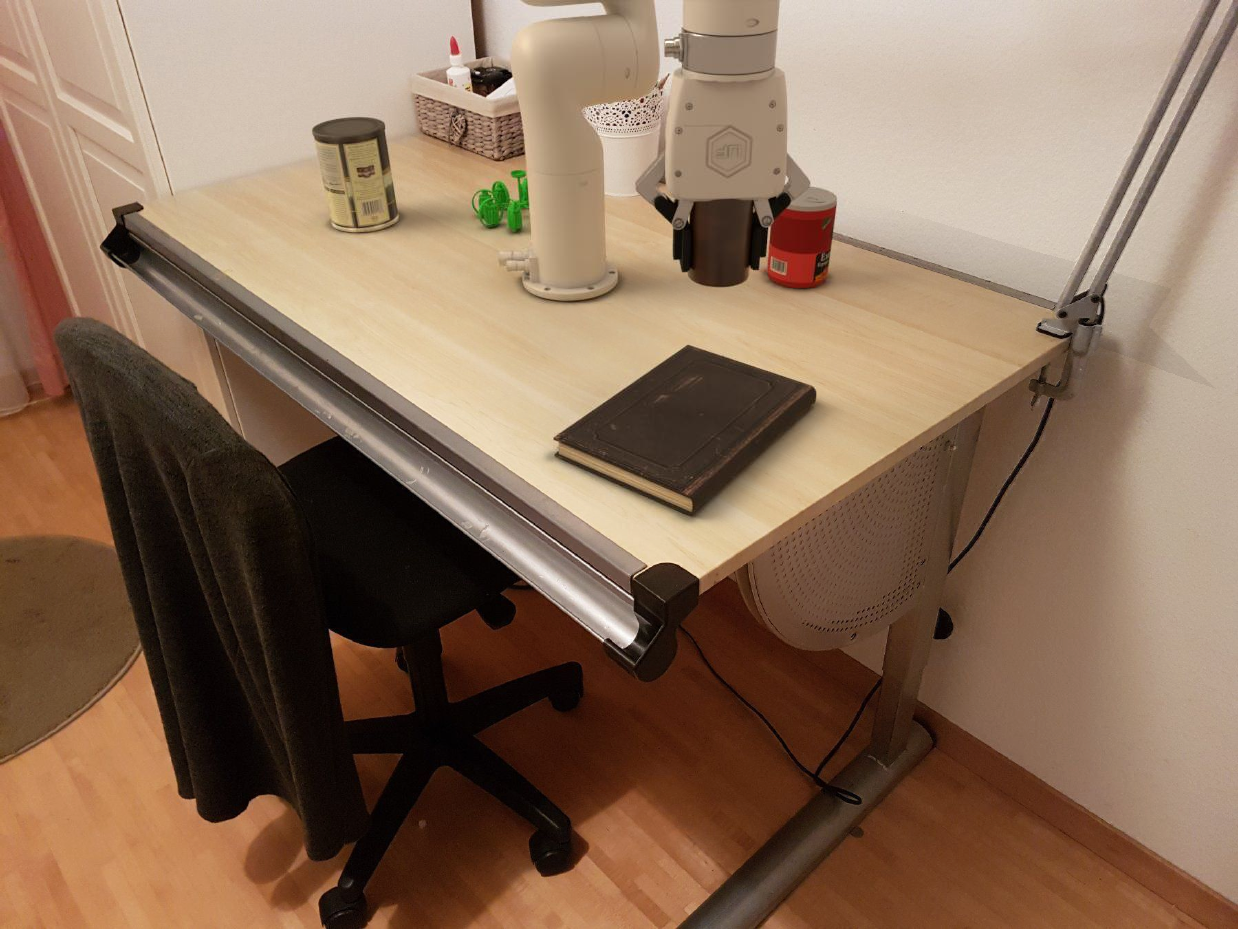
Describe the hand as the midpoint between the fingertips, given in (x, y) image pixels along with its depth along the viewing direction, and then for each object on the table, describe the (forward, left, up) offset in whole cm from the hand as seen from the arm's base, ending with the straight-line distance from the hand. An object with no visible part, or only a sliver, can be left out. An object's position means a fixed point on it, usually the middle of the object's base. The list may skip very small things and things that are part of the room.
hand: (718, 263), depth 84 cm
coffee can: (-47, +58, -17) cm, 77 cm away
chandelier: (-23, +58, -17) cm, 65 cm away
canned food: (+15, +34, -17) cm, 41 cm away
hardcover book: (-2, -2, -17) cm, 17 cm away
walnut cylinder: (0, 0, -1) cm, 1 cm away
